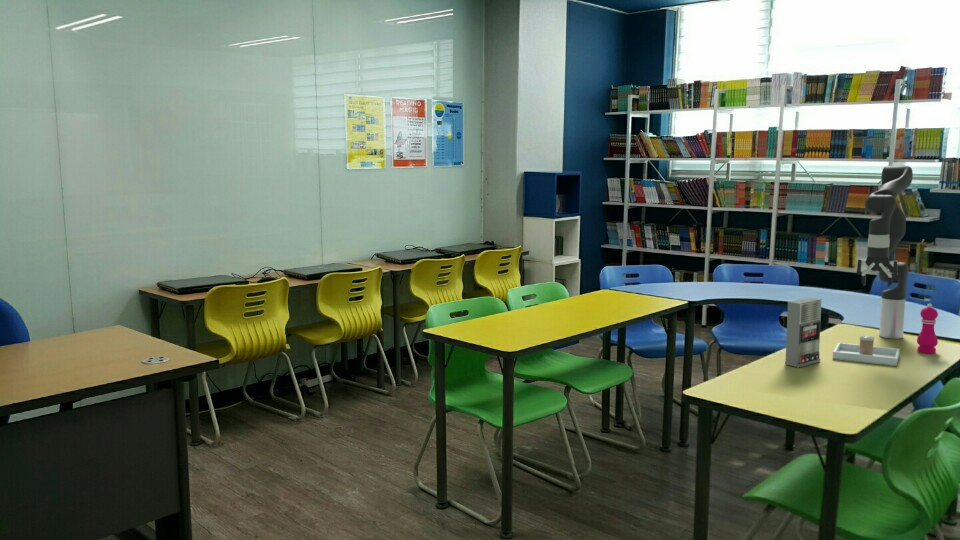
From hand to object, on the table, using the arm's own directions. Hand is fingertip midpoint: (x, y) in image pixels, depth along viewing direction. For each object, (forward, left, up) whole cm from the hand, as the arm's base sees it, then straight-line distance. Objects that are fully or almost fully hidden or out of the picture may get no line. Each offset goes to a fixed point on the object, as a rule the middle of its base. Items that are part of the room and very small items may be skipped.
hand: (876, 285), depth 288 cm
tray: (+7, -2, -28) cm, 29 cm away
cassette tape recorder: (+27, -22, -28) cm, 45 cm away
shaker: (+7, -2, -28) cm, 29 cm away
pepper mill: (-13, +18, -28) cm, 36 cm away
